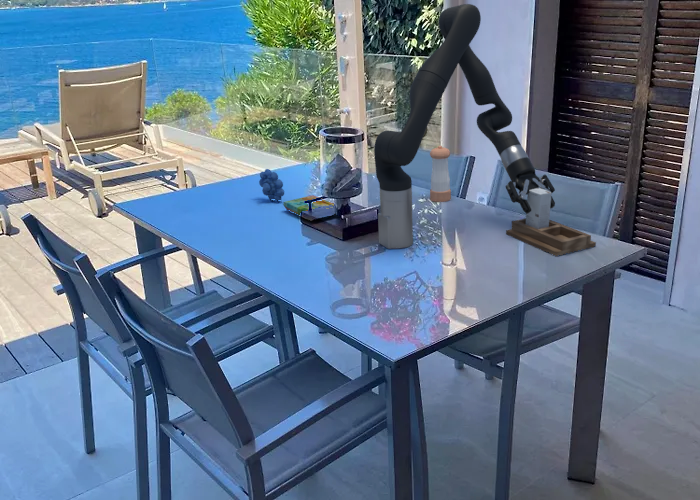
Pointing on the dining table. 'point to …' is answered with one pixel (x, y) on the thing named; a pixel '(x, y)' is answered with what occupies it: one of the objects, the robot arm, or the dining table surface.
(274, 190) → the grapes
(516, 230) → the rack
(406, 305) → the dining table surface
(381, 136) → the robot arm
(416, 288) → the dining table surface
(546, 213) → the skincare box
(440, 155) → the salt shaker
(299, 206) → the puzzle game
